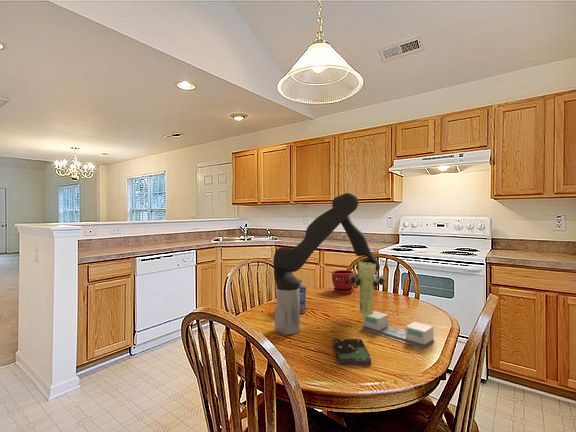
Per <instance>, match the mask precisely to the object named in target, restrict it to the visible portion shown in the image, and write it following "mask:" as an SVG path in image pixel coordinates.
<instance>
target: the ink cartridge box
mask: <svg viewBox="0 0 576 432" xmlns="http://www.w3.org/2000/svg"><path fill="white" fill-rule="evenodd" d="M298 280H299V285H300V287H299V288H300V314H306V310H307V309H306V307H307V305H306V303H307V302H306V301H307V300H306V299H307V298H306V297H307V292H306V291H307V287H306V286H304V285H303V284H302V282H303V280H301V279H300V278H299V279H298Z"/></svg>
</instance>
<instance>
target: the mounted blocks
mask: <svg viewBox="0 0 576 432" xmlns="http://www.w3.org/2000/svg"><path fill="white" fill-rule="evenodd" d="M362 317H363V325H362V327H363V326H367V327H370V328H373V329H376V330H380V329H382V328H384V327H386V326H388V325H389V314H387V313H384V312H380V311H377V310H373V314H372V315H363V314H362ZM405 330H406V339H408V340H411V341H415V342H418V343H421V344H424V345H425V344H427V343H428V342H429V341H431V340H432V339H433V338H434V326H433V325H429V324H425V323H421V322H418V321H413V322H411V323H410V324H407V325H406V326H405Z"/></svg>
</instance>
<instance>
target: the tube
mask: <svg viewBox="0 0 576 432" xmlns="http://www.w3.org/2000/svg"><path fill="white" fill-rule="evenodd" d="M359 261H360V260H359ZM359 261H358V262H357V263H358V264H359V283H360V284H359V314H361V315H362V316H363V315H372V314H373V311H374V301H375V299H374V296H375V287H374V280H375V269H376V264H372V263H365V262H359Z"/></svg>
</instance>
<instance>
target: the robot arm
mask: <svg viewBox="0 0 576 432" xmlns="http://www.w3.org/2000/svg"><path fill="white" fill-rule="evenodd" d="M331 205H332V208H331V209H329V210H327V211H325V212H324V213H322V214H320V215H319V216H317V217H316V218H314V220H313V221H312V222H310V224H309V225H308V226H307V227H306V230H305V233H304V234H305V235H304V238H303V240H301V241H300V242H299V243H298V244H297V245H296V246H295V247H286V246H282V247H278V248H277V249H276V250H275V252H274V255H273V261H272V262H273V277H274V278H273V279H274V282H275V284H276V307H275V308H274V332H276V333H279V334H281V335H282V336H287V335H294V334H295V335H296V334H298V333H299V332H300V330H301V313H300V288H299V287H300V285H299V283H300V281H299V279H298V278H296V276H295V274H294V272H297V271H299V270H300V269H301V268H302V267H304V266H305V263H306V262H307V261H308V260H309V259H310V257H311V256H312V254H313V253H314V251H316V250H317V248H319V246H320V245H321V244H322V243H323V242H325V240H326V239H327V238H328V237H329V236H330V235H331V234H332V233H333V232H334V231H335V229H337V228H338V227H339V225H340V224H341V227H342V228H343V230H344V231H345V233H346V235H347V237H348V239H349V242H350V243H351V247H352V249H353V252H354V255H355V256H356V257H367V258H366V259H362V260H359V262H365V263H372V264H376V269H375V280H374V288H377V287H378V286H379V285H380V286H383V285H384V284H385V282H386V275H384V274H382V275H380V276H378V273H377V272H379V271H380V268H381V266H380V265H381V264H380V262H379V261H378V259H377V258H376V257H375V256H374V254H373V252H372V251H371V249H370V247H369V244H368V242H367V240H366V237H365V234H364V233H363V232H362V231H361V230H360V229H359V228H358V226H356V224H354V222H353V221H352V219H351V217H350V215H351V214H353V213H354V212H355V211H356V210H357V208H358V206H359V199H358V197H357V195H356V194H355V193H353V192H346V193H343V194H340V195H338V196H335V197H334V198H333V200H332V202H331ZM356 270H357V274H356V275H355V276H354V275H353V274H350V281H351V283H352V284H355V285H356V286H357V287H360V283H359V264H358V262H356Z"/></svg>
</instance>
